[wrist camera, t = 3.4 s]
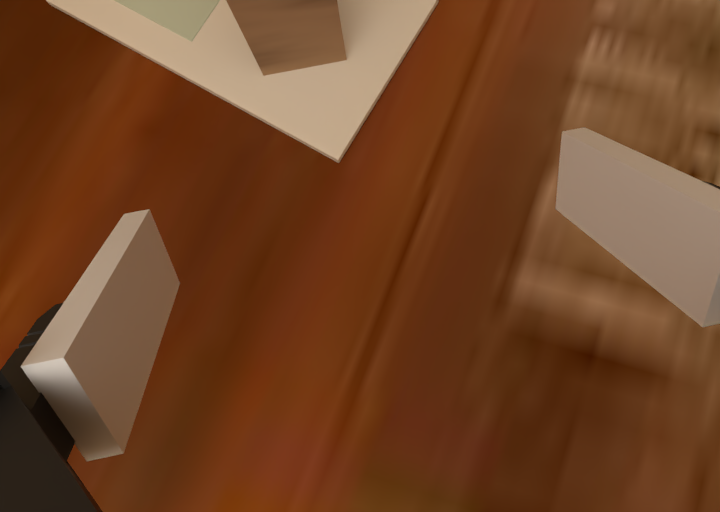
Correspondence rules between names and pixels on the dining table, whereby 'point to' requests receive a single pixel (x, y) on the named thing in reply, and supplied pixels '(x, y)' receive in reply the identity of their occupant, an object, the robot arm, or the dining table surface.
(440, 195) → the dining table surface
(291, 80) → the board
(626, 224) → the robot arm
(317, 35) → the walnut block
